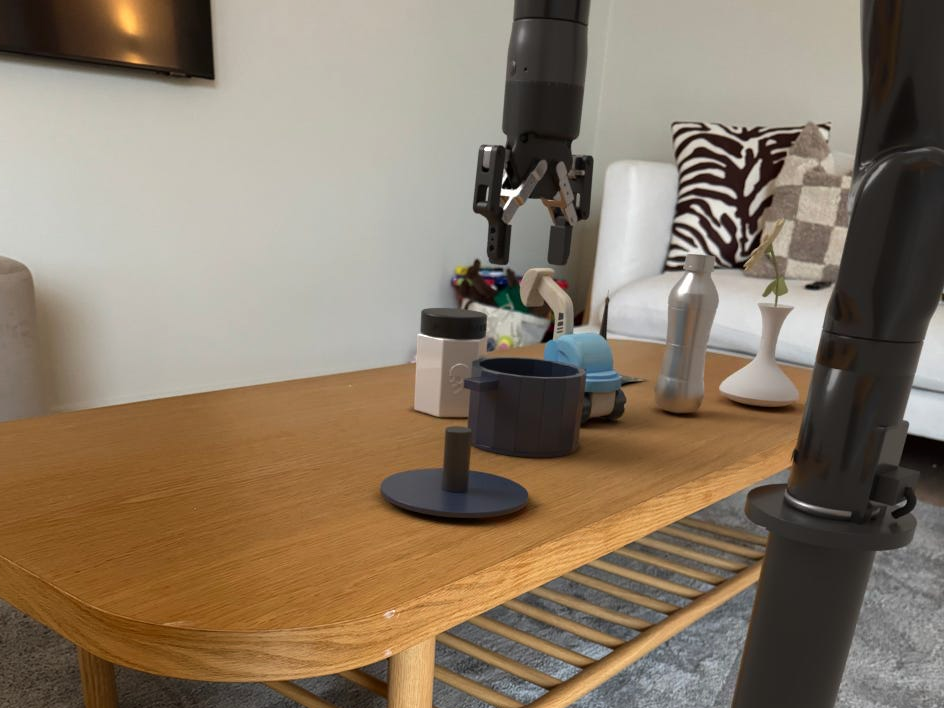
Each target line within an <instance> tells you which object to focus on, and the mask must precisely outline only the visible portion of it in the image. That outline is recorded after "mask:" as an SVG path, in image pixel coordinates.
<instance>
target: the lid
mask: <svg viewBox="0 0 944 708" xmlns="http://www.w3.org/2000/svg"><path fill="white" fill-rule="evenodd" d="M444 430H445V431H444V446H443V447H444V448H443V462H442V463H443V464H442V467H433V468H431V467H430V468H419V469H418V468H417V469H411V470H406V471H405V470H404V471H401V472H396V473H394V474H393V473H392V474H391V475H389V476H387V477H386V478H384V479H383V480H382V481H381V483H380V494H381V496H382V497H383V498H384V499H385V500H386V501H387V502H389V503H391V504H393V505H394V506H396V507H399V508H402V509H405V510H406V511H412V512H415V513H419V514H424V515H425V514H426V515H428V516H429V515H430V516H435V517H443V518H458V519H480V518H481V519H483V518H484V519H485V518H495V517H500V516H506V515H509V514H513V513H516V512H518V511H520V510H522V509H524V508H525V507H526V506H527V505H528V503H529V499H530V498H529V497H530V495H529V491H528V490H527V489H526V487H524V486H523V485H522V484H520V483H518V482H516V481H514V480H512V479H510V478H507V477H504V476H500V475H497V474H493V473H490V472H485V471H480V470H479V471H478V470H470V467H471V466H470V465H471V454H472V453H471V452H472V445H471V440H472V430H471V429H470V428H467V427H466V426H461V425H460V426H459V425H452V426H447V427H445V429H444Z"/></svg>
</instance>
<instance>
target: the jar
mask: <svg viewBox="0 0 944 708" xmlns="http://www.w3.org/2000/svg"><path fill="white" fill-rule="evenodd" d="M419 327H420V330H419V331H420V332H418V333H417V339H416V359H415V360H416V362H415V378H414V381H415V383H414V401H413V402H414V404H413V409H414V411H416V412H420V413H423V414H426V415H430V416H432V417H435V418H440V419H441V418H442V419H444V418H447V419H448V418H449V419H450V418H455V419H456V418H459V419H460V418H463V419H465V418H467V419H468V411H469V397H470V389H466V388H464V379H465V378H471V368H472V361H475V360H477V359H480V358H487V353H488V352H487V351H488V350H487V349H488V335H487V328H488V314H486V313H485V312H481V311H477V310H472V309H464V308H455V307H454V308H452V307H427V308H424V309H422V310H421V311H420V326H419Z"/></svg>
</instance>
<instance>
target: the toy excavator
mask: <svg viewBox="0 0 944 708" xmlns="http://www.w3.org/2000/svg"><path fill="white" fill-rule="evenodd" d="M555 273H556V272H555V270H554V269H553V268H551V267H534V268H530V269H528V270H527V271H526V272H525V273H524V275H523V277H522V279H521V282H520V286H519V295H520V301H521V302H522V304H523V305H524V306H525V307H526V308H529V307H530V308H531V307H532V308H533V307H543V306H544V302H546V304H547V305H548V306H549V308H550V309H551V310H552V312H553V313H554V329H553V337H552V339H550V340H548V341H547V342H546V343H545V346H544V351H543V359H545V360H552V361H558V362H563V363H567V364H572V365H575V366H577V367H580V368H584V369H586V373H587V375H586V384H585V392H584V400H583V408H582V417H581V425H582V424H585V423H586V422H587V421H588V420H589V419H593V418H598V417H599V418H601V419H604V420H606V421H611V420H617V419H620V418H621V417H622V416H623V415H624V414H625V411H626V408H625V404H626V403H627V397H626V394H625V392H624V391H623V389H622V384H621V379H622V377H621V376H620V375H621V374H619V373H618V371H617V370H616V369H615V368H614V355H613V351H612V349H611V346H610V344H609V343H608V340H607V341H606V340H605V339H604V338H603V337H602V336H601V335H599V333H596V332H582V333H581V332H580V333H574V325H575V323H574V319H575V316H574V304H573V301H572V299H571V297H570V296H569V294H568V293H566V291H565V290H564V289H563V288H562V287H561V286H559V284H558V283H557V282H556V281H555V280H554V276H555ZM618 374H619V375H618Z"/></svg>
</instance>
